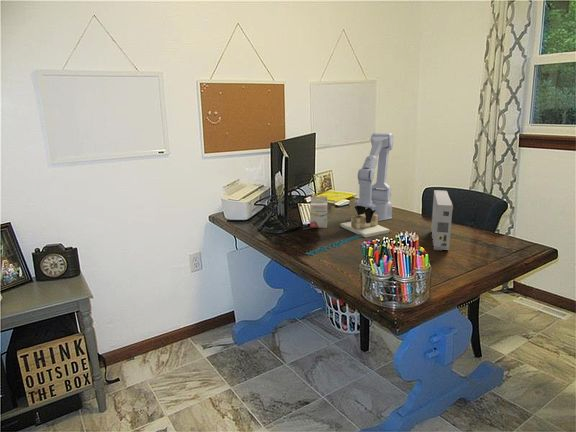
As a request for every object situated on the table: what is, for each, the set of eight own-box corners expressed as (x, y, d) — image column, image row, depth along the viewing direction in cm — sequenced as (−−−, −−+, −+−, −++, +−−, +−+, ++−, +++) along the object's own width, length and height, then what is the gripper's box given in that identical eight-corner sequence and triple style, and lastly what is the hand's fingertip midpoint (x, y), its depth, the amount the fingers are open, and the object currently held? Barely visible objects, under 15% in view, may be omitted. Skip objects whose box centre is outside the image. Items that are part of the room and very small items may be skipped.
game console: (444, 232, 195) (447, 190, 189) (449, 253, 170) (453, 205, 164) (431, 231, 196) (434, 190, 191) (434, 252, 171) (437, 204, 166)
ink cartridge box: (310, 227, 207) (309, 198, 203) (310, 224, 212) (310, 196, 208) (327, 227, 206) (327, 198, 202) (327, 224, 211) (327, 196, 207)
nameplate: (302, 254, 173) (311, 257, 170) (302, 252, 173) (311, 255, 169) (359, 234, 196) (367, 236, 193) (359, 232, 196) (368, 235, 193)
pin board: (363, 222, 214) (363, 212, 213) (389, 232, 197) (390, 222, 195) (340, 226, 208) (340, 216, 206) (365, 237, 191) (365, 227, 189)
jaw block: (351, 226, 201) (351, 216, 200) (371, 222, 206) (371, 212, 205) (357, 229, 197) (357, 218, 196) (377, 225, 202) (378, 215, 201)
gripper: (349, 192, 202) (349, 219, 206) (368, 198, 190) (367, 226, 193) (361, 190, 205) (360, 217, 209) (380, 196, 193) (379, 224, 196)
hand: (364, 221), depth 201 cm, fingers closed on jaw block, 5 cm apart
